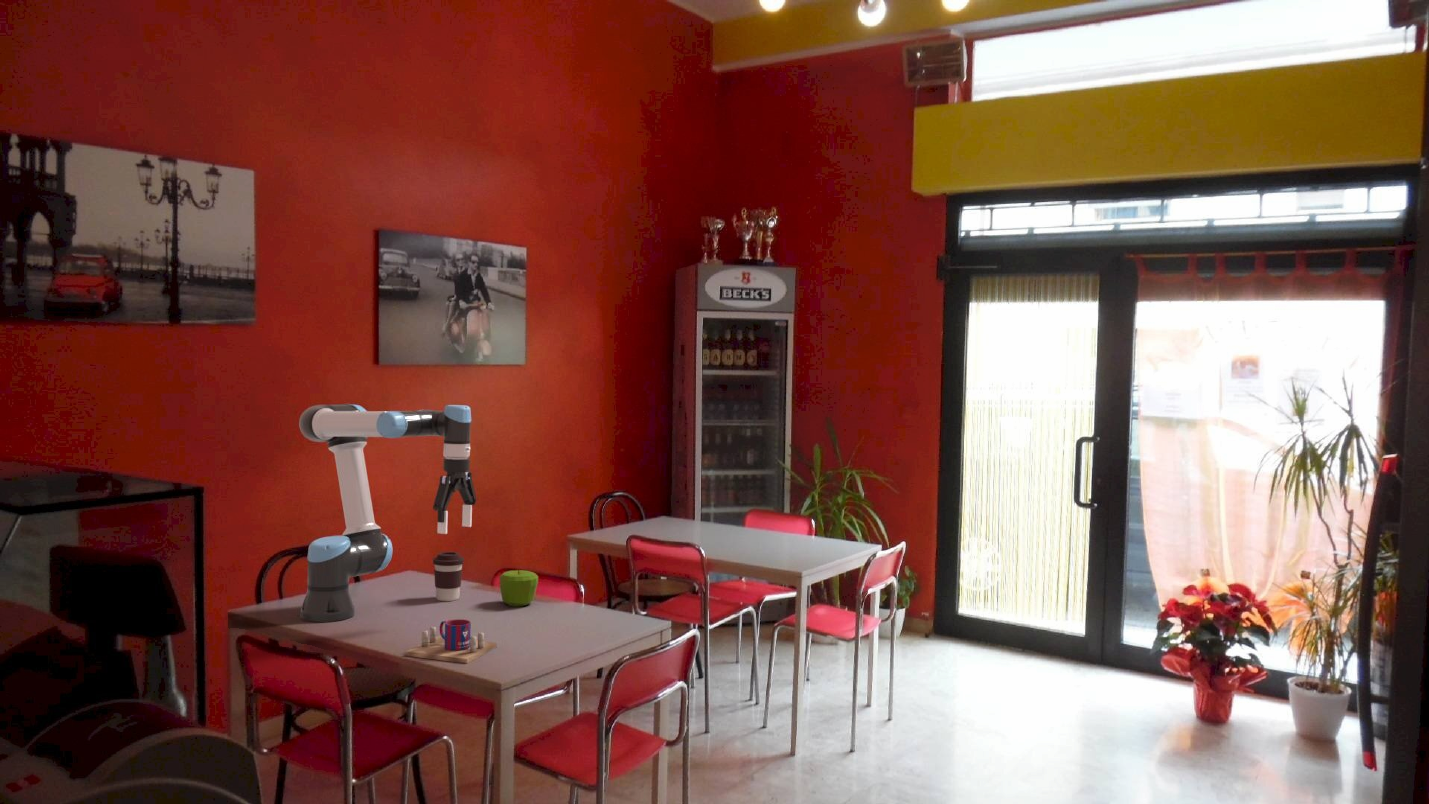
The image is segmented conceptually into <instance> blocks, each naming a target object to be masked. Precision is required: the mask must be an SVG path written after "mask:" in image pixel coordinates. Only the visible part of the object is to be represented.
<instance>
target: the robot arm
mask: <svg viewBox="0 0 1429 804" xmlns="http://www.w3.org/2000/svg"><path fill="white" fill-rule="evenodd" d="M298 426H299V427H298V428H299V429H300V432H301V434H302V435H303V437H304V438H306V439H308V440H309V441H311V442H316V443H327V448H328V450H329V451H330V452H332V453H333V454H334V460H335V467H336V471H337V477H338V478H337V479H338V484H339V491H340V498H341V502H342V503H341V504H342V509H343V516H344V521H345V527H346V528H345V530H344V531H343V533H342V535H331V536H324V537H320V538H317V539H315V540H313V541H311V543H310V544H309V546H308V551H307V552H308V553H307V557H306V559H307V585H306V586H307V591H306V594H305V597H304V599H303V602H302V604H301V605H302V606H301V608H300V619H301V620H303V621H306V622H312V623H313V622H315V623H316V622H318V623H322V622H323V623H328V622H337V621H342V620H343V621H344V620H347V619H349V618H352V617H354V616H355V606H354V602H353V599H352V595H351V593H350V589H349V588H350V587H349V585H350V584H349V583H350V578H353V577H357V576H364V575H371V574H374V573H377V572H380V571H383V570H384V569H386V568H387V566H388V565H389V563H390V562H391V560H392V556H393V544H392V541H391V539H390V538H389V536H387V535H386V534H384V533H382V528H381V526H379V525H378V524H377V523H376V521H375V516H374V510H373V503H372V496H371V492H370V491H371V490H370V484H369V478H368V474H367V473H368V472H367V471H368V470H367V466H366V458H365V454H364V448H365V447H366V446H367V444H368V441H367V439H368V438H370V437H372V438H387V439H398V438H408V437H409V438H410V437H411V438H412V437H431V436H433V437H443V451H442V452H443V457H444V458H443V463H442V464H443V465H442V467H443V468H442V469H443V472H446V475H440V477H439V485H438V488H437V490H436V491H437V492H436V495H435V499H434V501H433V506H432V509H433V510H434V511H437V529H436V531H437V534H442V535H447V534H448V516H449V515H448V514H449V512H448V510H447V508H448V506H449V504H450V501H451V499H452V497H453V495H454V493H456V491H458V492H459V494H460V497H461V498H462V500H463V501H462V502H463V504H462V515H461V516H462V517H461V519H462V523H461V527H467V528H471V527H472V521H473V520H472V517H473V516H472V514H473V506H475V505H477V500H478V499H477V495H476V491H475V487H474V483H473V474H472V472H469V471H470V470H471V469H470V467H471V466H470V465H471V463H470V461H471V460H470V458H469V457H470V455H471V449H472V448H471V429H472V428H471V427H472V412H471V407H470V406H469V405H464V404H463V405H462V404H448V405H447V404H446V405H445V406H444V410H443V411H442V410H436V409H435V410H433V409H419V410H388V411H385V410H384V411H383V410H381V411H380V410H379V411H375V410H373V411H372V410H369V411H368V410H366V409H365V408H364V407H363V406H361V405H359V404H350V403H344V404H343V403H340V404H337V403H336V404H316V405H313V406H312V405H311V406H310V407H308V408H307V409H305V410H304V411H303V412H302V413H301V415H300V417H299V422H298Z"/></svg>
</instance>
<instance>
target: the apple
mask: <svg viewBox="0 0 1429 804" xmlns="http://www.w3.org/2000/svg"><path fill="white" fill-rule="evenodd" d="M538 584H539V576H538V574H536V573H535V572H533V571H531V570H524V569H523V570H522V569H521V570H520V569H516V570H508V571H504V572H503V573H502V574H501V575H500V576H499V588H500V594H501V599H502V601H503V602H504V603H505V604H506V605H507V606H510V607H515V606H517V607H523V606H527V605H529V604H530V603H532V602H533V601H534V600H535V597H536V592H537V588H538Z"/></svg>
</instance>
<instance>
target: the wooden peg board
mask: <svg viewBox="0 0 1429 804" xmlns="http://www.w3.org/2000/svg"><path fill="white" fill-rule="evenodd" d="M444 646H445V640H444V639H443V638H442V637H441V635H438V636H437V627H436V626H431V627H429V630H422V631H421V643H420V644H419V645H416V646H414V647H412V648H411V649H408V650H406V651H405V652H406V653H405V655H406V657H413V658H421V659H422V658H423V659H429V660H438V661H445V662H452V663H460V664H469V663H471V662H473V661H475V660H476V659H478V658H480V657H482V656H484V655H486V654H487V653H489V652H491V651H492V650H494V649H496V648H498V642H494V641H493V642H492V641H485V633H484V632H482V631H481V632H478V633H477V636H476V635H472V636H471V635H470V648H469V649H466V650H461V651H450V650H446V649H445V648H444Z"/></svg>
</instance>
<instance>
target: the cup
mask: <svg viewBox="0 0 1429 804" xmlns="http://www.w3.org/2000/svg"><path fill="white" fill-rule="evenodd" d="M471 624H472V623H471V621H470V620H468V619H462V618H461V619H460V618H459V619H458V618H457V619H450V620H443V621H441V622H440V624H439V634H440V635H439V636H441V637H442V638H443V639H444V640H445V646H444V648H445V649H446V650H450V651H461V650H466V649H469V648H470V637H471V632H472V631H471ZM443 628H444V629H443Z"/></svg>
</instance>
